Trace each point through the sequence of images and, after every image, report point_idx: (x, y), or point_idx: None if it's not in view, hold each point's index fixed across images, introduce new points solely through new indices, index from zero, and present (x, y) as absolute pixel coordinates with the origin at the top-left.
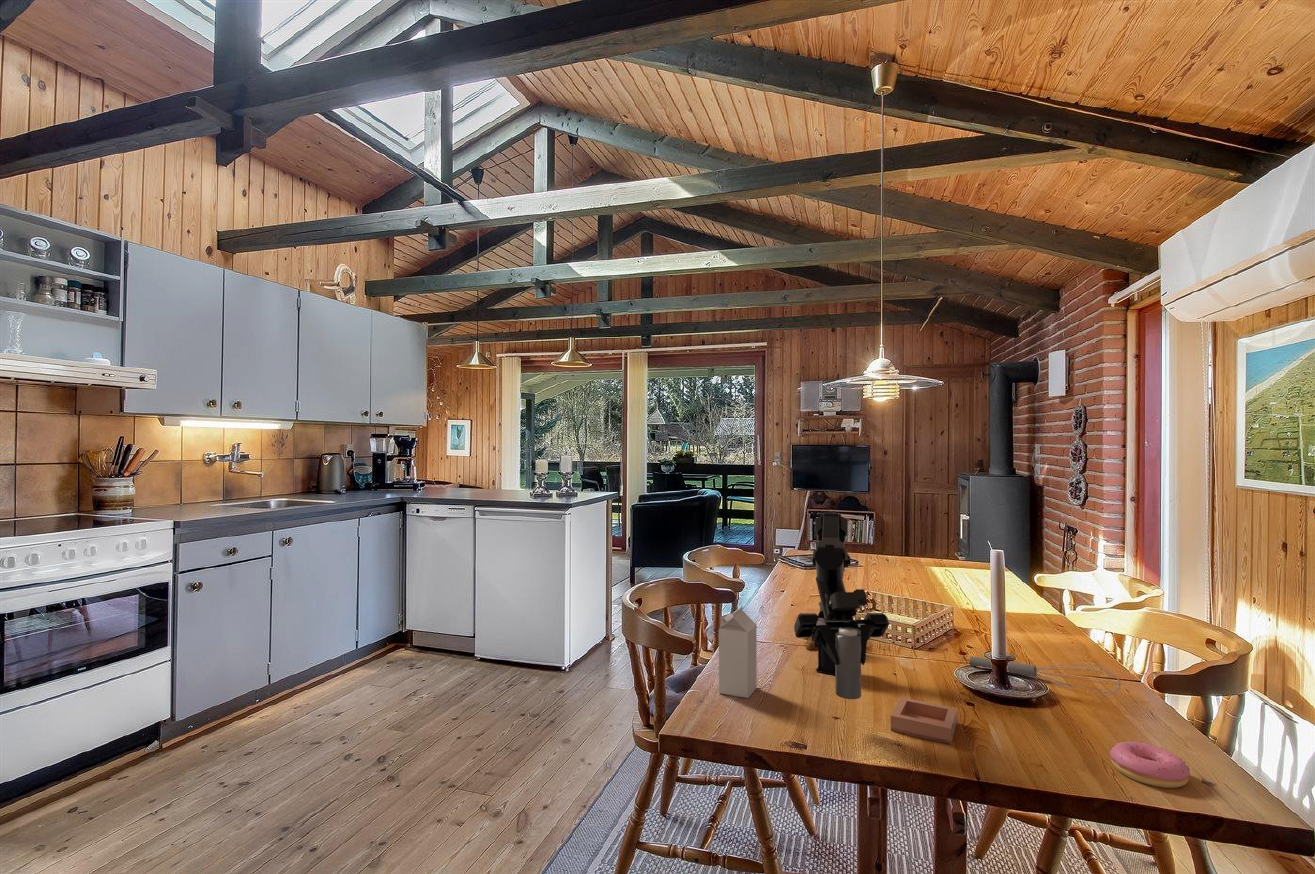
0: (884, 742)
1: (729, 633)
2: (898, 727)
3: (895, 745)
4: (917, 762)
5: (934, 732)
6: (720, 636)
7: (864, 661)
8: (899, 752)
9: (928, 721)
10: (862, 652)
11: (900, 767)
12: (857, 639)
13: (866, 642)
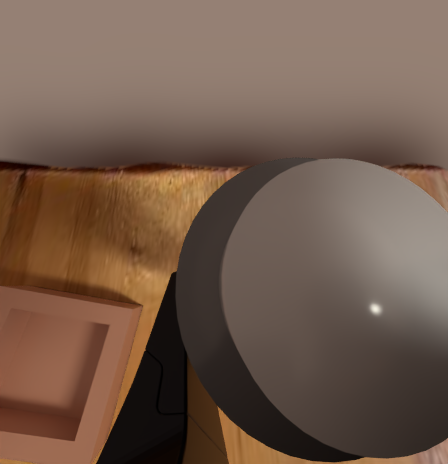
0: (158, 249)
1: None
2: (124, 304)
3: (140, 244)
4: (111, 196)
5: (49, 291)
6: None
7: (175, 272)
8: (136, 220)
9: (46, 309)
10: None
11: (140, 174)
12: (213, 201)
13: (136, 376)
